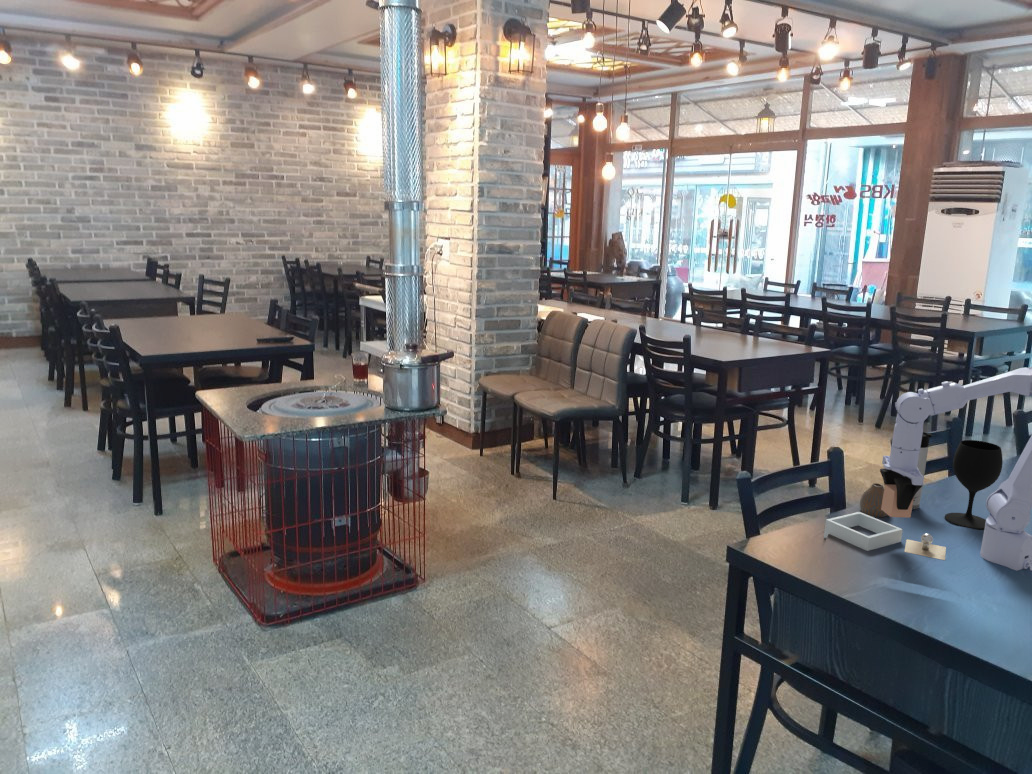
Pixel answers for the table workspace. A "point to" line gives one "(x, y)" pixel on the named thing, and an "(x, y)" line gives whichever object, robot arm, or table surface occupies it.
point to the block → (893, 503)
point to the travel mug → (921, 465)
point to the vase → (873, 501)
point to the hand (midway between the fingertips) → (896, 504)
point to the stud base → (925, 547)
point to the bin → (842, 530)
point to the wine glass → (975, 476)
